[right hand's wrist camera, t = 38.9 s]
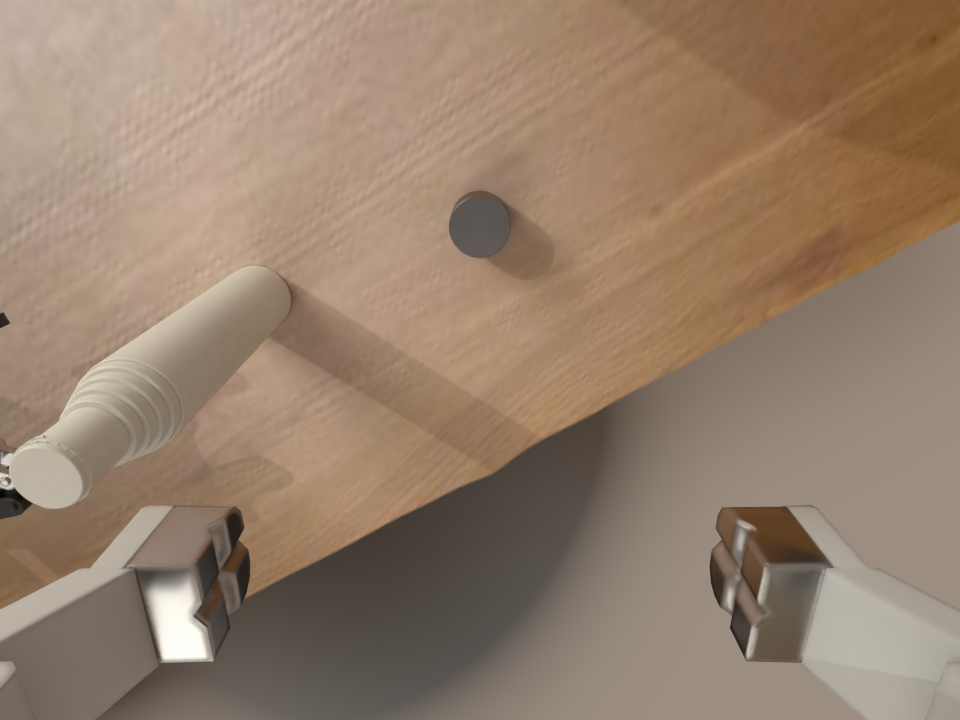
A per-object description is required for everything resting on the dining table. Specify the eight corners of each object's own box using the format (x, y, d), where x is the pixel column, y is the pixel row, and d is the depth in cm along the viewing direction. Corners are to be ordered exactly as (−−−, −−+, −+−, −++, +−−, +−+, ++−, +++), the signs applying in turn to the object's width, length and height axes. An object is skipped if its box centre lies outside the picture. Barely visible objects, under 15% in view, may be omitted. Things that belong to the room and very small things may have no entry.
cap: (458, 255, 42) (457, 263, 40) (444, 198, 41) (442, 204, 38) (514, 241, 42) (516, 250, 39) (501, 184, 40) (503, 189, 38)
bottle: (230, 257, 42) (-22, 407, 21) (296, 275, 43) (115, 441, 22) (221, 318, 44) (-21, 515, 23) (285, 335, 44) (106, 543, 23)
